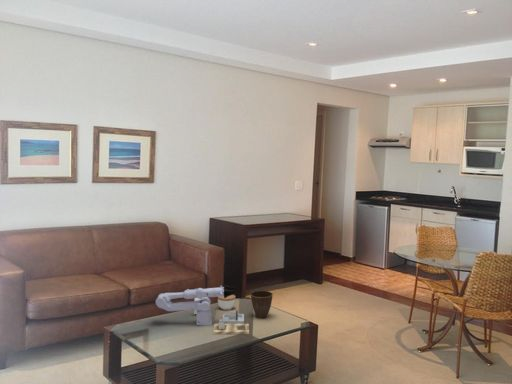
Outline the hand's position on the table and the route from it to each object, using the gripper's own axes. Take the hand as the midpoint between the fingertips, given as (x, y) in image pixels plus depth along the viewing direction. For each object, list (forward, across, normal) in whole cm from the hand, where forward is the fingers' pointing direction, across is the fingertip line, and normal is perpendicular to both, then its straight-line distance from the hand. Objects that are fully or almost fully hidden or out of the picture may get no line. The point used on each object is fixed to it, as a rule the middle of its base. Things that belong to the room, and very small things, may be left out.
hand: (235, 290), depth 313 cm
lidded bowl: (-8, +29, +21) cm, 37 cm away
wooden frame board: (-4, -12, +22) cm, 25 cm away
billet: (-10, -12, +21) cm, 26 cm away
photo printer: (-25, +17, +20) cm, 36 cm away
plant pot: (+16, +12, +23) cm, 31 cm away
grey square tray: (-3, +4, +22) cm, 22 cm away
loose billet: (-3, +4, +21) cm, 22 cm away
